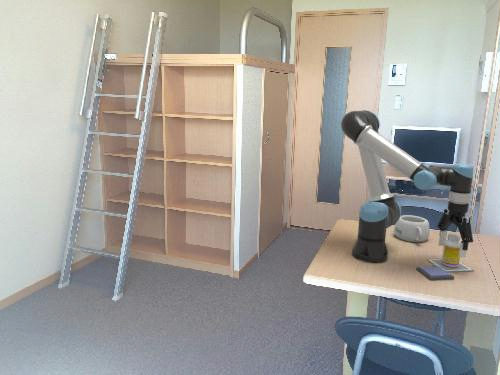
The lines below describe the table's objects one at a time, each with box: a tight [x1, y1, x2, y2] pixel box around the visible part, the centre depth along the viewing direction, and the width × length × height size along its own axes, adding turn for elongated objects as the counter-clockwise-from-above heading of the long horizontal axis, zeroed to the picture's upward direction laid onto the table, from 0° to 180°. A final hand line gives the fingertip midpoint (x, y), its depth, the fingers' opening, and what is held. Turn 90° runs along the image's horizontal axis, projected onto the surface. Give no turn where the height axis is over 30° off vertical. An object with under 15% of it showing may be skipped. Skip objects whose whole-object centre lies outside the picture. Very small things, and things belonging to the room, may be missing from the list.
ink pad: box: [415, 265, 455, 281], centre depth 170 cm, size 10×10×2 cm
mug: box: [393, 214, 430, 243], centre depth 211 cm, size 21×17×10 cm
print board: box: [426, 258, 475, 273], centre depth 180 cm, size 13×13×1 cm
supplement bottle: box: [441, 233, 461, 267], centre depth 179 cm, size 7×7×13 cm
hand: (451, 251), depth 179 cm, fingers open, 13 cm apart
